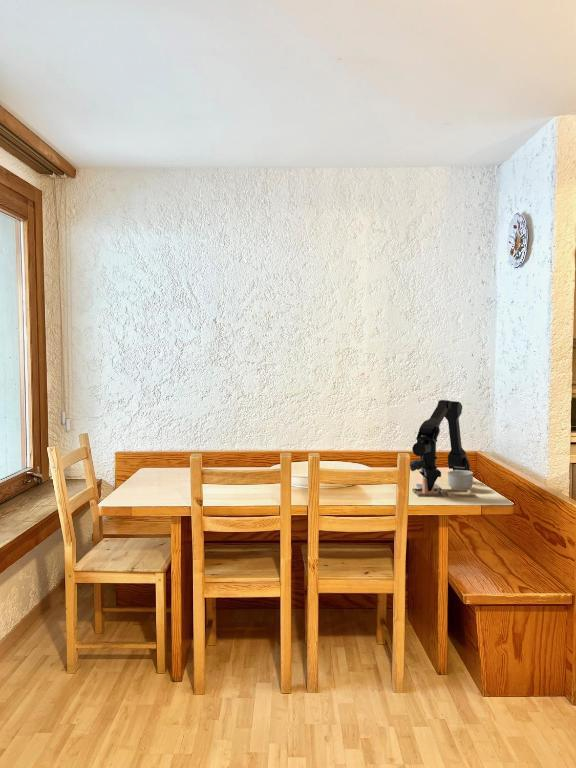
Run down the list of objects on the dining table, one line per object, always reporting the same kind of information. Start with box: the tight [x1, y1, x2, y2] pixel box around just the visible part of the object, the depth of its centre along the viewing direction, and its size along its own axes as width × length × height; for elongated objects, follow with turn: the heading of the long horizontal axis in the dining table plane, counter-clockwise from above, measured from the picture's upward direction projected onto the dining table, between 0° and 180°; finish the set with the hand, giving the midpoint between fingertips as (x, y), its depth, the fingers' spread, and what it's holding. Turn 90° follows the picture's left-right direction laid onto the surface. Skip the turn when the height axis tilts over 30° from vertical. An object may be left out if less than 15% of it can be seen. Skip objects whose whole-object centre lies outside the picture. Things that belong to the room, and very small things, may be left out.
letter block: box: [421, 477, 434, 494], centre depth 279 cm, size 4×4×6 cm
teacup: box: [447, 470, 474, 490], centre depth 292 cm, size 14×11×8 cm
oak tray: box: [442, 488, 477, 498], centre depth 279 cm, size 11×11×2 cm
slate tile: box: [416, 483, 443, 492], centre depth 290 cm, size 9×9×2 cm
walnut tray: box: [412, 488, 445, 498], centre depth 279 cm, size 11×11×2 cm
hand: (428, 489), depth 279 cm, fingers closed on letter block, 4 cm apart
